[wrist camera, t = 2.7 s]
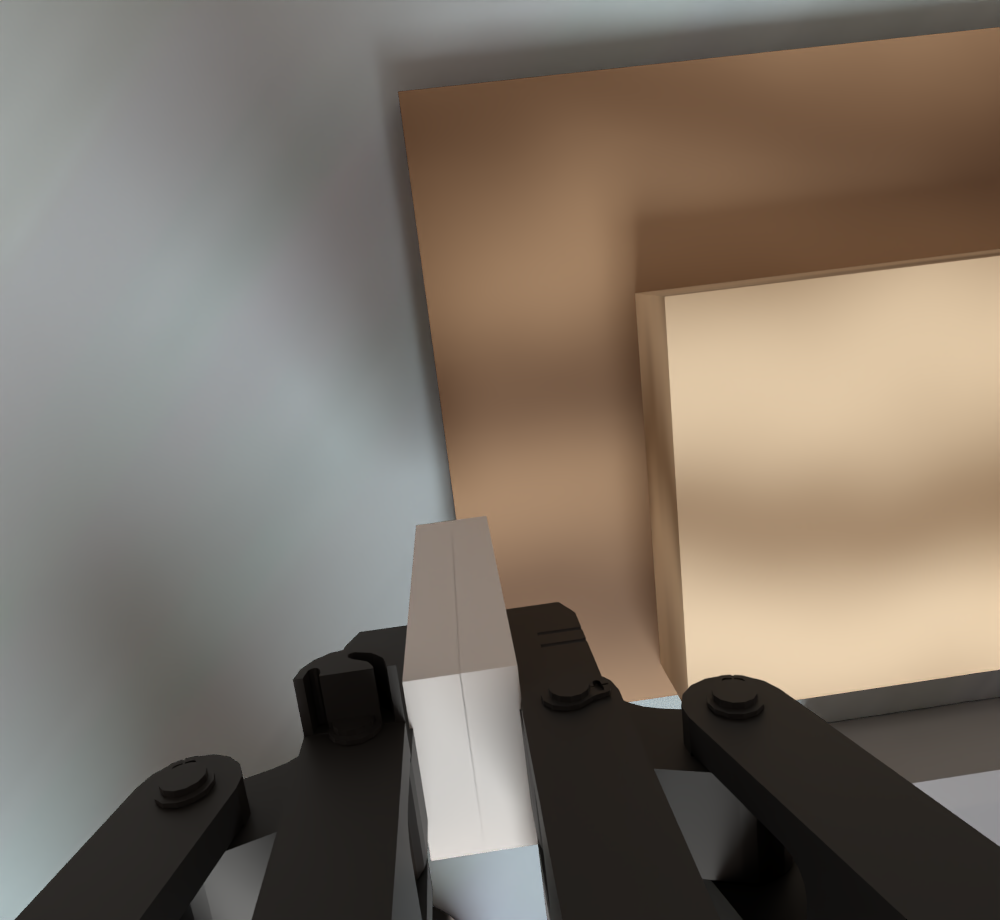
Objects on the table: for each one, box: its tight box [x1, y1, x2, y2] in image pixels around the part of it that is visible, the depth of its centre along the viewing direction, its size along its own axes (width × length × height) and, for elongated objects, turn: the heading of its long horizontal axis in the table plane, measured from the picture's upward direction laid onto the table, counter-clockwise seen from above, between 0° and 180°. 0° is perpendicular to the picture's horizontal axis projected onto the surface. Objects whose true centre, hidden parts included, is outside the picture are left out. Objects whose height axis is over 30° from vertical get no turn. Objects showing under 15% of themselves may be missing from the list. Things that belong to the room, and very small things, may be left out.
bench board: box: [398, 27, 1000, 702], centre depth 20 cm, size 16×26×1 cm, turn 96°
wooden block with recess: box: [635, 249, 1000, 701], centre depth 18 cm, size 10×14×4 cm
